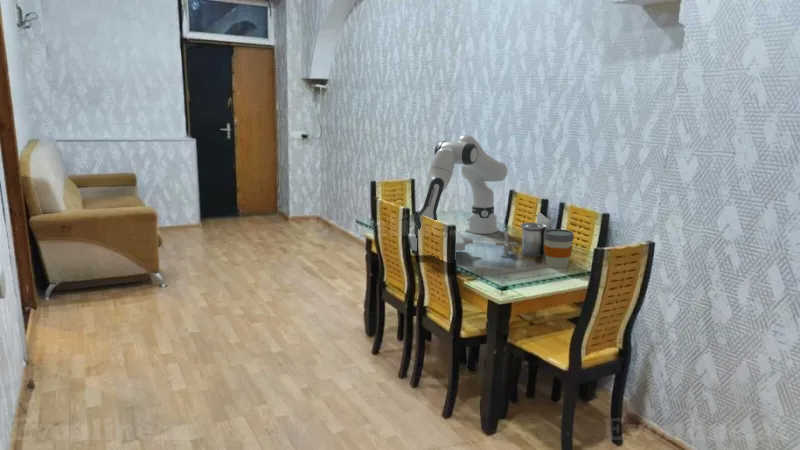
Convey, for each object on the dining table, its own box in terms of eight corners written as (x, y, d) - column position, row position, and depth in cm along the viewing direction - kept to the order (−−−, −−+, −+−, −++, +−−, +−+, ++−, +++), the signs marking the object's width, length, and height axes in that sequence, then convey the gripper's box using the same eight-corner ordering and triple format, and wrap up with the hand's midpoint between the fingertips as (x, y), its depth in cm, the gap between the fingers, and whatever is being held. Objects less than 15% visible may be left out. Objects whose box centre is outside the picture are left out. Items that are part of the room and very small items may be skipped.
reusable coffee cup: (537, 262, 249) (538, 229, 245) (562, 260, 252) (564, 228, 248) (550, 270, 237) (552, 236, 233) (577, 268, 240) (579, 234, 236)
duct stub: (515, 248, 271) (517, 212, 267) (538, 248, 271) (539, 212, 267) (524, 260, 252) (526, 221, 248) (549, 260, 252) (551, 221, 248)
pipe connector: (517, 257, 256) (518, 236, 254) (495, 257, 257) (496, 236, 255) (516, 251, 266) (516, 231, 264) (494, 251, 267) (495, 231, 265)
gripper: (444, 240, 249) (475, 240, 249) (441, 229, 269) (469, 229, 269) (444, 254, 251) (475, 253, 251) (441, 242, 271) (469, 241, 271)
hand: (472, 240), depth 260 cm, fingers closed
